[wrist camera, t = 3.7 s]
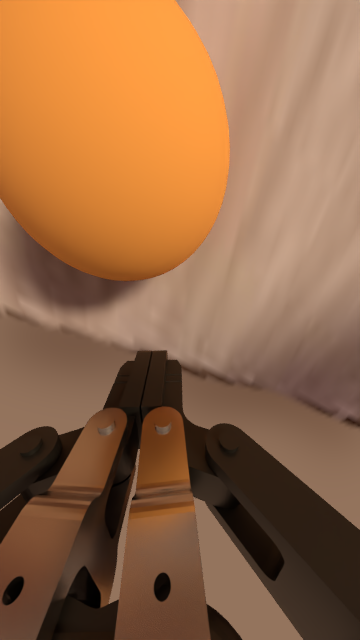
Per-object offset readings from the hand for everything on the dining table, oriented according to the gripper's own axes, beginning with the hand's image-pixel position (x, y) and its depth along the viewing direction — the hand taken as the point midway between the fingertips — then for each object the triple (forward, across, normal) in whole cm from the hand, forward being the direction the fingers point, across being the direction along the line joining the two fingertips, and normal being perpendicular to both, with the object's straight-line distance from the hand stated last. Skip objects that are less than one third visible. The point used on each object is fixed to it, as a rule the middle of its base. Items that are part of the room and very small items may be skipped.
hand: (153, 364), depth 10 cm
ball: (-2, 0, -8) cm, 8 cm away
